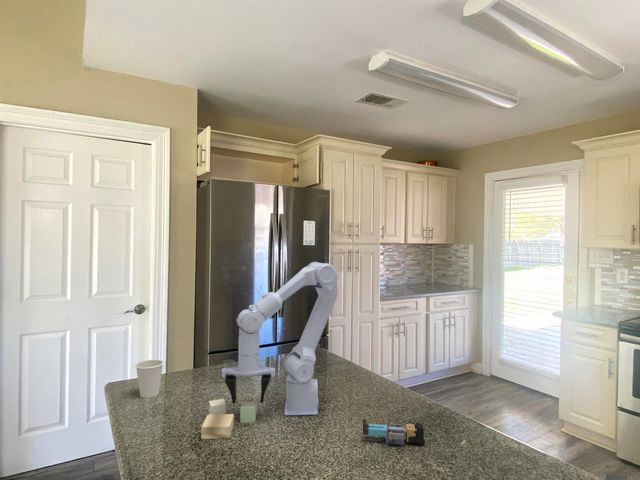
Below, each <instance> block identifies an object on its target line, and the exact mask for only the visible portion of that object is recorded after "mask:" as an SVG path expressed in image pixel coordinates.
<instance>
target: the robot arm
mask: <svg viewBox="0 0 640 480" xmlns="http://www.w3.org/2000/svg"><path fill="white" fill-rule="evenodd" d="M338 278H339V274H338V272H337V270H336V269H335V267H334V265H332V264H330V263H329V262H328V263H322V262H319V261H313V262H310V263H309V264H308V265H307V266H304V267H303V268H302V269H301V270H300V271H299V272H298V273H296V274H295V275H294V276H293V277H292V278H290V279H289V280H288V281H287V282H286V283H285V284H284V285H283V286H281V287H280V288H279V289H278V290H276V292H272V291H270V292H268V293H266V292H264V293H262V294H261V297H262V298H260V299H258V300H257V301H256V302H255V303H253V304H249V306H248V308H247V309H243V310H242V311H241V312H240V313H239V314H238V316H237V318H236V324H237V326H238V327H239V329H238V352H237V353H238V366H233V367H223V368H222V369H221V378H225V380H224V382H225V385H226V386H227V388H228V390H229V393H230V396H231V402H232V404H236V402H237V377H261V380H260V385H261V386H260V391H261V392H260V393H261V394H260V404H263V403H264V401H265V400H264V399H265V394H266V391H267V388H268V386H269V384H270V382H271V378H273V377H275V375H276V368H275V367H269V366H260V330H261V328H262V326H263V323H265V322H266V321H267V320H268V319H270V318H271V317H272V316H273V315H275V314H276V313H277V312H278V311H279V310H281V309H282V307H283V302H284V301H285V300H287V299H288V298H290V297H291V296H293V294H295V293H296V292H297V291H299V290H300V289H302V288H303V287H305V286H314V288H315V290H316V292H317V295H318V296H317V298H316V301H315V303H314V305H313V308H312V310H311V313H310V316H309V318H308V321H307V322H306V325H305V327H304V329H303V331H302V334H301V337H300V339H299V341H298V343H297V344H296V345H295V346H293V347H292V350H291V352H290V353H289V354H288V355H287V356H286V357H285V358H284V362H283V367H284V370H285V371H286V372H287V375H286V377H285V379H286V381H285V382H286V383H285V384H286V385H285V386H286V388H285V389H286V391H285V392H286V395H285V396H286V397H285V398H286V400H285V402H284V416H317V415H318V414H319V413H318V410H319V407H318V406H319V387H318V379H317V378H313V377H314V373H315V364H316V361H317V357H316V352H315V351H316V349H317V346H318V344H319V342H320V339H321V337H322V334H323V332H324V329H325V328H326V325H327V323H328V320H329V317H330V316H331V312H332V310H333V308H334V306H335V303H336V301H337V298H338Z"/></svg>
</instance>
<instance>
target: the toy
mask: <svg viewBox="0 0 640 480" xmlns="http://www.w3.org/2000/svg"><path fill="white" fill-rule="evenodd" d="M424 433H425V428H424V426H423V423H421V422H419V421H417V423H413V424H412V423H411V424H410V423H406V424H405V425H404V424H403V423H392V422H387V424H375V423H367V418H363V419H362V435H363V436H364V435H365V436H379V437H385V441H382V440H380V441H379V443H381V444H382V445H383V444H387V445H398V446H402V447H403V446H404V447H405V445H406V442H407V443H415V444H421V445H422V444H424V443H426V442H425V438H424V437H425V435H424ZM405 441H406V442H405Z"/></svg>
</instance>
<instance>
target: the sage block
mask: <svg viewBox="0 0 640 480" xmlns="http://www.w3.org/2000/svg"><path fill="white" fill-rule="evenodd" d="M257 403H258V402H257V401H242V403H241V406H240V408H239V409H240V411H239V413H240V416H239V417H240V419H239V420H240V423H255V422H256V418H257V415H258V413H257V406H258V405H257Z"/></svg>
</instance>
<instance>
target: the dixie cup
mask: <svg viewBox="0 0 640 480" xmlns="http://www.w3.org/2000/svg"><path fill="white" fill-rule="evenodd" d="M164 363H165V362H164V360H161V359H147V360H142V361H139V362H137V363H136V364H135V369H136V377H137V384H138V391H139V396H140V398H142V399H144V398H145V399H149V398H153V397H156V396H158V395H159V394H160V390H161V389H160V388H161V383H162V374H163V367H164Z"/></svg>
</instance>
